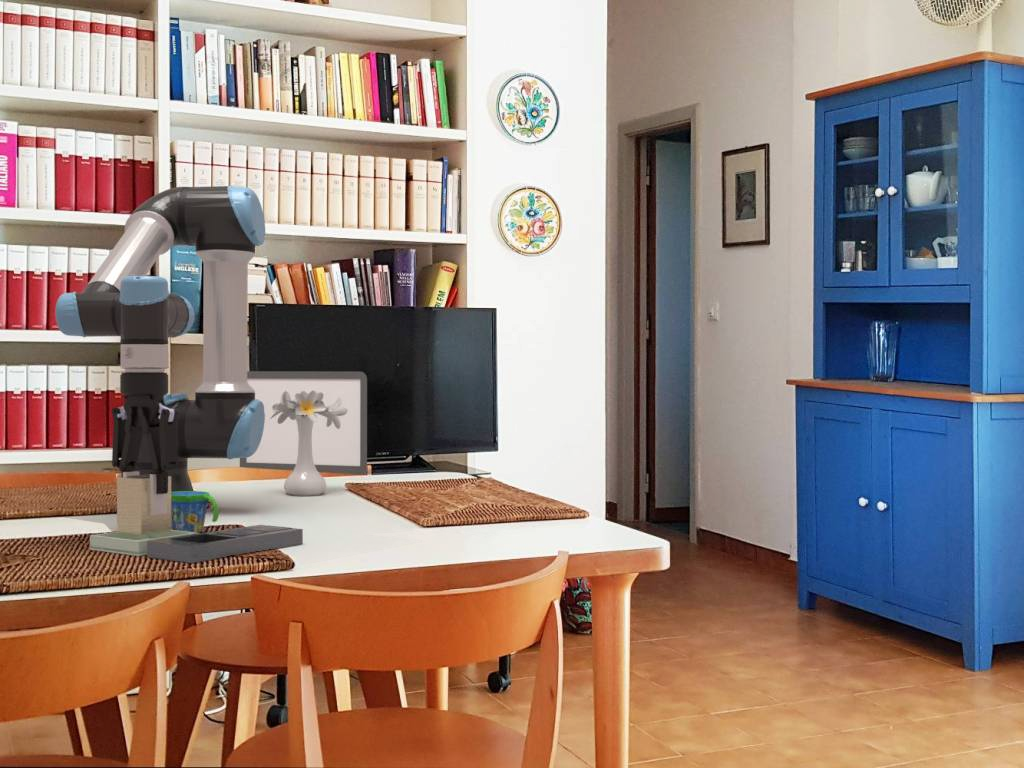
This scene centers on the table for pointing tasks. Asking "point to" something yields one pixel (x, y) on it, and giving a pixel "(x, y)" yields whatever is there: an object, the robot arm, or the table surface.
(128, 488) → the square wooden post
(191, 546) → the grey compartment tray
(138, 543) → the parts tray
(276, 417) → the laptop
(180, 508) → the snack cup
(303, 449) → the flower vase
